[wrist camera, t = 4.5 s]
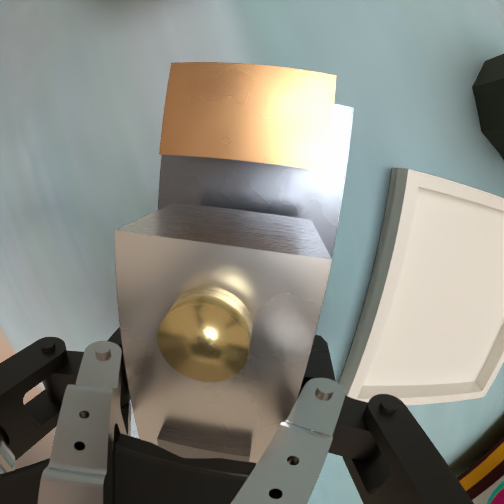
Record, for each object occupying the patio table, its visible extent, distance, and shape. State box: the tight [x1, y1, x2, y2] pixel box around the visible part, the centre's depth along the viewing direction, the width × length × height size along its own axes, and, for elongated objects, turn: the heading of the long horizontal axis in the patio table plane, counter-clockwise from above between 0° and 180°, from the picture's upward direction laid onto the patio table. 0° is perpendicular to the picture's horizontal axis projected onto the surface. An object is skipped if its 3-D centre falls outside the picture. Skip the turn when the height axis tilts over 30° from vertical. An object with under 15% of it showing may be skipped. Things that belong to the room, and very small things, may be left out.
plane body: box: [158, 62, 354, 259], centre depth 15 cm, size 20×8×9 cm, turn 174°
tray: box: [339, 168, 504, 405], centre depth 17 cm, size 16×14×2 cm
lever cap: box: [115, 203, 332, 465], centre depth 10 cm, size 10×5×6 cm, turn 173°
